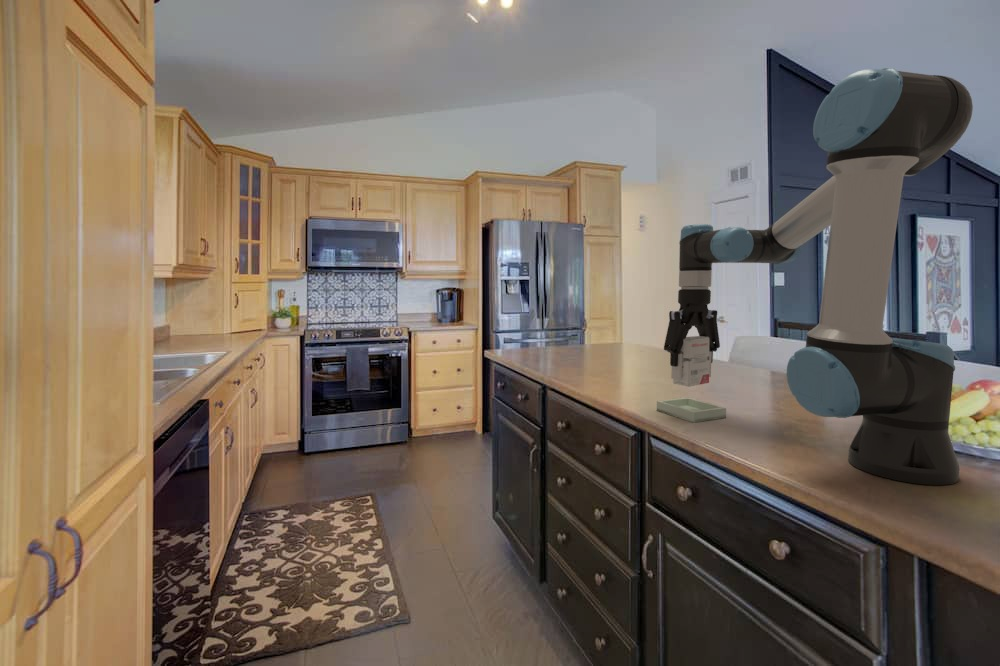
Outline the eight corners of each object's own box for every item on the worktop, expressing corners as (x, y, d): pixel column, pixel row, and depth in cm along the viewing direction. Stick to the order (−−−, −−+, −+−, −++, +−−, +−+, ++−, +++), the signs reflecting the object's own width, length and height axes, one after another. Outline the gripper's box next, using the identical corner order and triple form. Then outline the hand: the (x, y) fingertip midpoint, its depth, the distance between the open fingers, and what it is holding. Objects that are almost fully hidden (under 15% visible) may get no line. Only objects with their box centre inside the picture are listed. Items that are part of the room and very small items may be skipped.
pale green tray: (725, 417, 121) (726, 407, 121) (693, 422, 117) (693, 412, 117) (687, 406, 133) (687, 397, 133) (656, 410, 128) (656, 401, 128)
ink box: (692, 380, 129) (693, 335, 128) (709, 383, 125) (711, 336, 123) (671, 383, 124) (672, 337, 123) (688, 387, 120) (690, 338, 119)
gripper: (714, 288, 130) (711, 372, 132) (649, 288, 121) (647, 378, 123) (738, 288, 123) (734, 376, 125) (671, 288, 114) (668, 383, 116)
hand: (691, 377), depth 124 cm, fingers closed on ink box, 9 cm apart
